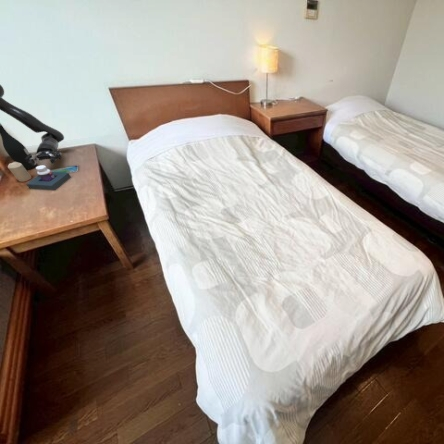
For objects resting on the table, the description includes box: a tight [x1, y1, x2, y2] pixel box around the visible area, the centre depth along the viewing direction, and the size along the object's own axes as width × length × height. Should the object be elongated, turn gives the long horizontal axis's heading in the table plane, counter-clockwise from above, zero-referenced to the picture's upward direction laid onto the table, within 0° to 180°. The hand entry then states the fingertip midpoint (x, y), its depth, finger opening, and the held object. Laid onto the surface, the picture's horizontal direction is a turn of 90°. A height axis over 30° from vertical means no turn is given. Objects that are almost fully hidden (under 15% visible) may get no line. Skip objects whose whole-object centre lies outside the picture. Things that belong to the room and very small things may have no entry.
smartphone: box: [49, 165, 79, 173], centre depth 145 cm, size 7×1×15 cm
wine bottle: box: [0, 122, 38, 171], centre depth 135 cm, size 8×8×30 cm
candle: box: [7, 161, 32, 183], centre depth 133 cm, size 6×6×10 cm
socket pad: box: [25, 172, 72, 191], centre depth 135 cm, size 13×13×3 cm
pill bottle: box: [35, 164, 55, 182], centre depth 133 cm, size 5×5×10 cm
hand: (41, 163), depth 132 cm, fingers open, 8 cm apart
